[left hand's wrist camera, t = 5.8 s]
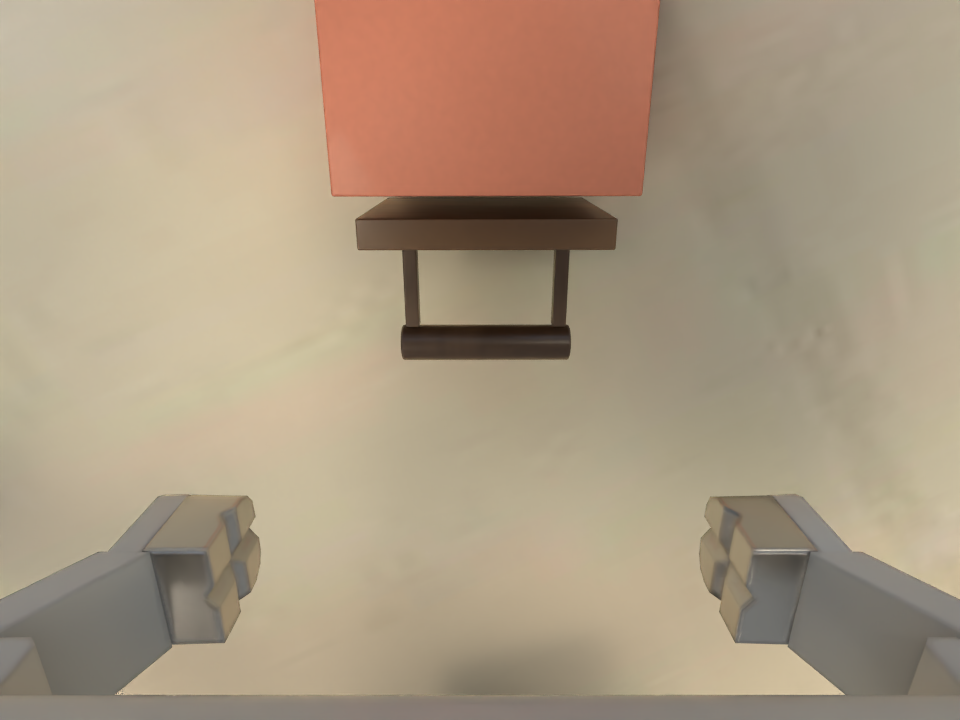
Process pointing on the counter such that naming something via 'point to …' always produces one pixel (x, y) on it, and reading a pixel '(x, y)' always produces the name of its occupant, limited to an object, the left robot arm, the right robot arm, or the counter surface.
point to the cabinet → (487, 96)
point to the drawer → (486, 229)
